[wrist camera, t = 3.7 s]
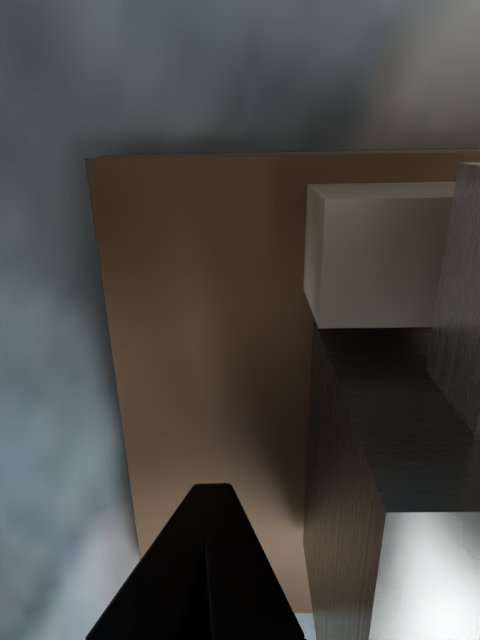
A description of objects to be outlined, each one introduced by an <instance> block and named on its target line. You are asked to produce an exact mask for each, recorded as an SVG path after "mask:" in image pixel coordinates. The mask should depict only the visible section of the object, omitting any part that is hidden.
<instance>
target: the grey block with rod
mask: <svg viewBox="0 0 480 640" xmlns="http://www.w3.org/2000/svg"><path fill="white" fill-rule="evenodd" d="M303 547H304V554H305V561H306V568H307V575H308V582H309V589H310V596H311V603H312V610H313V617H314V624H315V631H316V638H317V640H480V162H464V163H458V168H457V174H456V180H455V187H454V193H453V200H452V206H451V212H450V219H449V225H448V232H447V238H446V244H445V251H444V257H443V264H442V270H441V276H440V283H439V289H438V296H437V302H436V308H435V315H434V321H433V327H400V328H318V326H317V323H316V321H315V318H314V319H313V340H312V361H311V381H310V402H309V423H308V444H307V465H306V486H305V507H304V528H303Z"/></svg>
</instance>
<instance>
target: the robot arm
mask: <svg viewBox="0 0 480 640" xmlns="http://www.w3.org/2000/svg"><path fill="white" fill-rule="evenodd" d="M85 640H306V639H304V633H303V631H302V629H301V627H300V625H299V623H298V621H297V618H296V616H295V614H294V612H293V610H292V608H291V606H290V604H289V602H288V600H287V598H286V596H285V594H284V592H283V589H282V587H281V585H280V583H279V581H278V579H277V577H276V575H275V573H274V571H273V569H272V567H271V565H270V563H269V560H268V558H267V556H266V554H265V552H264V550H263V548H262V546H261V544H260V542H259V540H258V538H257V536H256V534H255V531H254V529H253V527H252V525H251V523H250V521H249V519H248V517H247V515H246V513H245V511H244V509H243V507H242V505H241V502H240V500H239V498H238V496H237V494H236V492H235V490H234V488H233V486H232V485H231V484H230V483H201V484H195V485H193V486H192V488H191V489H190V491H189V492H188V493H187V495H186V496H185V498H184V499H183V500H182V502H181V503H180V505H179V506H178V508H177V509H176V510H175V512H174V513H173V515H172V516H171V517H170V519H169V520H168V522H167V523H166V525H165V526H164V527H163V529H162V530H161V532H160V533H159V534H158V536H157V537H156V539H155V540H154V542H153V543H152V544H151V546H150V547H149V549H148V550H147V551H146V553H145V554H144V556H143V557H142V558H141V560H140V561H139V563H138V564H137V566H136V567H135V568H134V570H133V571H132V573H131V574H130V575H129V577H128V578H127V580H126V581H125V583H124V584H123V585H122V587H121V588H120V590H119V591H118V592H117V594H116V595H115V597H114V598H113V600H112V601H111V602H110V604H109V605H108V607H107V608H106V609H105V611H104V612H103V614H102V615H101V617H100V618H99V619H98V621H97V622H96V624H95V625H94V626H93V628H92V629H91V631H90V632H89V634H88V635H87V636H86V639H85Z"/></svg>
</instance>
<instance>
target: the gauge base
mask: <svg viewBox="0 0 480 640" xmlns="http://www.w3.org/2000/svg"><path fill="white" fill-rule="evenodd" d="M85 161H86V168H87V175H88V183H89V190H90V197H91V204H92V212H93V219H94V226H95V233H96V241H97V248H98V255H99V262H100V270H101V277H102V284H103V291H104V299H105V306H106V313H107V320H108V328H109V335H110V342H111V349H112V357H113V364H114V371H115V378H116V386H117V393H118V400H119V407H120V415H121V422H122V429H123V436H124V444H125V451H126V458H127V465H128V473H129V480H130V487H131V494H132V502H133V509H134V516H135V523H136V531H137V538H138V545H139V552H140V560H141V558H142V557H143V556H144V554H145V553H146V551H147V550H148V549H149V547H150V546H151V544H152V543H153V542H154V540H155V539H156V537H157V536H158V534H159V533H160V532H161V530H162V529H163V527H164V526H165V525H166V523H167V522H168V520H169V519H170V517H171V516H172V515H173V513H174V512H175V510H176V509H177V508H178V506H179V505H180V503H181V502H182V500H183V499H184V498H185V496H186V495H187V493H188V492H189V491H190V489H191V488H192V486H193V485H195V484H201V483H230V484H231V485H232V486H233V488H234V490H235V492H236V494H237V496H238V498H239V500H240V502H241V505H242V507H243V509H244V511H245V513H246V515H247V517H248V519H249V521H250V523H251V525H252V527H253V529H254V531H255V534H256V536H257V538H258V540H259V542H260V544H261V546H262V548H263V550H264V552H265V554H266V556H267V558H268V560H269V563H270V565H271V567H272V569H273V571H274V573H275V575H276V577H277V579H278V581H279V583H280V585H281V587H282V589H283V592H284V594H285V596H286V598H287V600H288V602H289V604H290V606H291V608H292V610H293V612H294V613H313V610H312V603H311V596H310V589H309V582H308V575H307V568H306V561H305V554H304V547H303V528H304V507H305V486H306V465H307V444H308V423H309V402H310V381H311V361H312V340H313V319H314V318H315V321H316V323H317V326H318V328H400V327H433V321H434V315H435V308H436V302H437V296H438V289H439V283H440V276H441V270H442V264H443V257H444V251H445V244H446V238H447V232H448V225H449V219H450V212H451V206H452V200H453V193H454V187H455V180H456V174H457V168H458V163H464V162H480V148H476V149H420V150H364V151H307V152H251V153H195V154H138V155H106V156H100V157H94V158H89V159H85Z"/></svg>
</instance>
